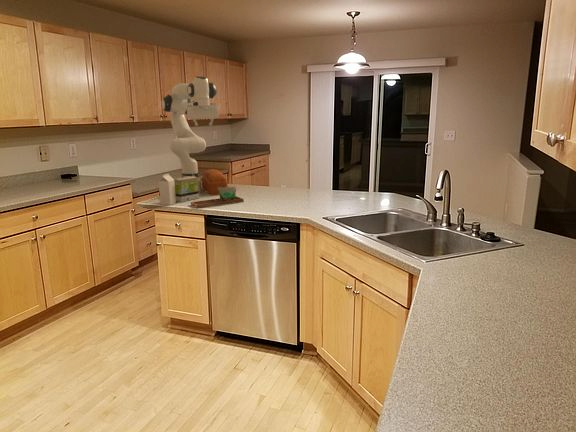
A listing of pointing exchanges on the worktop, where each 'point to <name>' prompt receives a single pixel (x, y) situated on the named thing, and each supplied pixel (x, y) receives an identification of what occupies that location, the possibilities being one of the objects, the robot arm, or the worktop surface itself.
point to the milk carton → (167, 190)
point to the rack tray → (215, 202)
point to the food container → (227, 193)
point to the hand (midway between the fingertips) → (203, 125)
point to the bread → (213, 181)
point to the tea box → (186, 188)
